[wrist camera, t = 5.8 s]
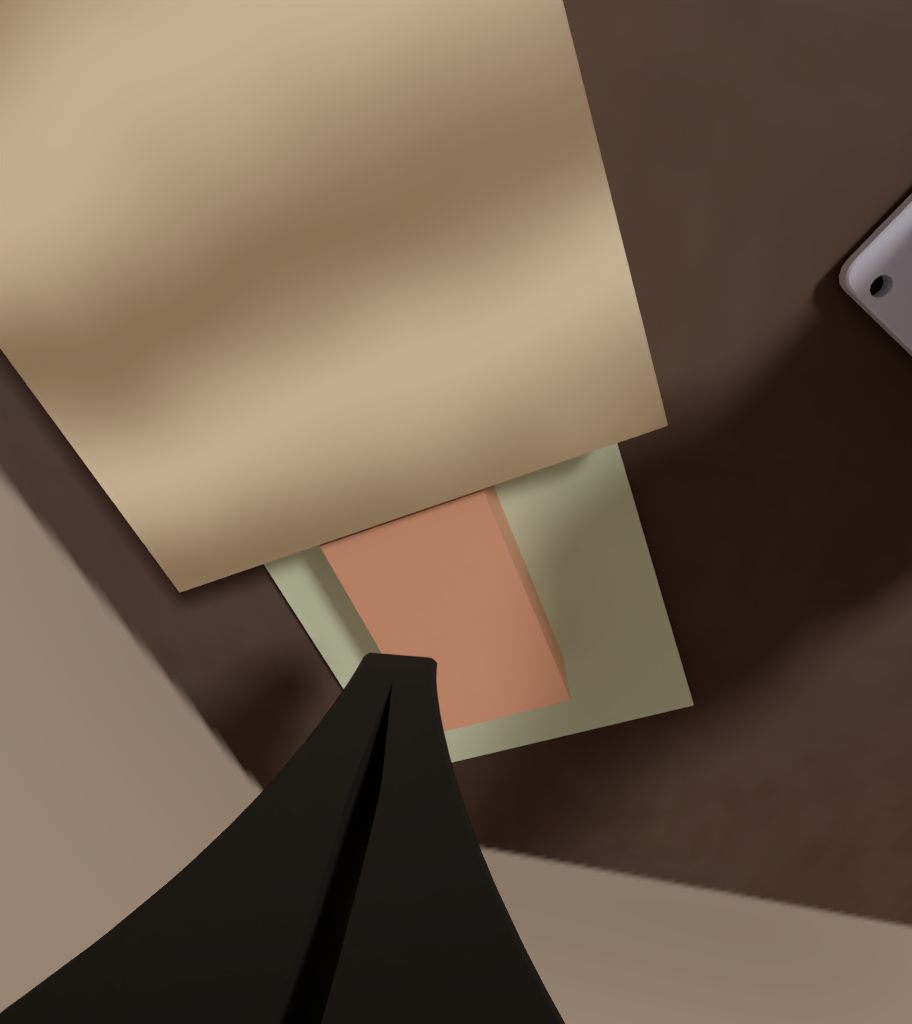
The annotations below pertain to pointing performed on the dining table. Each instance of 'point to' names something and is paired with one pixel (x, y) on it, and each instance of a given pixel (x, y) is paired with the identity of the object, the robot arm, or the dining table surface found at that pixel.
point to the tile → (456, 606)
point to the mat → (544, 605)
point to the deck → (309, 260)
